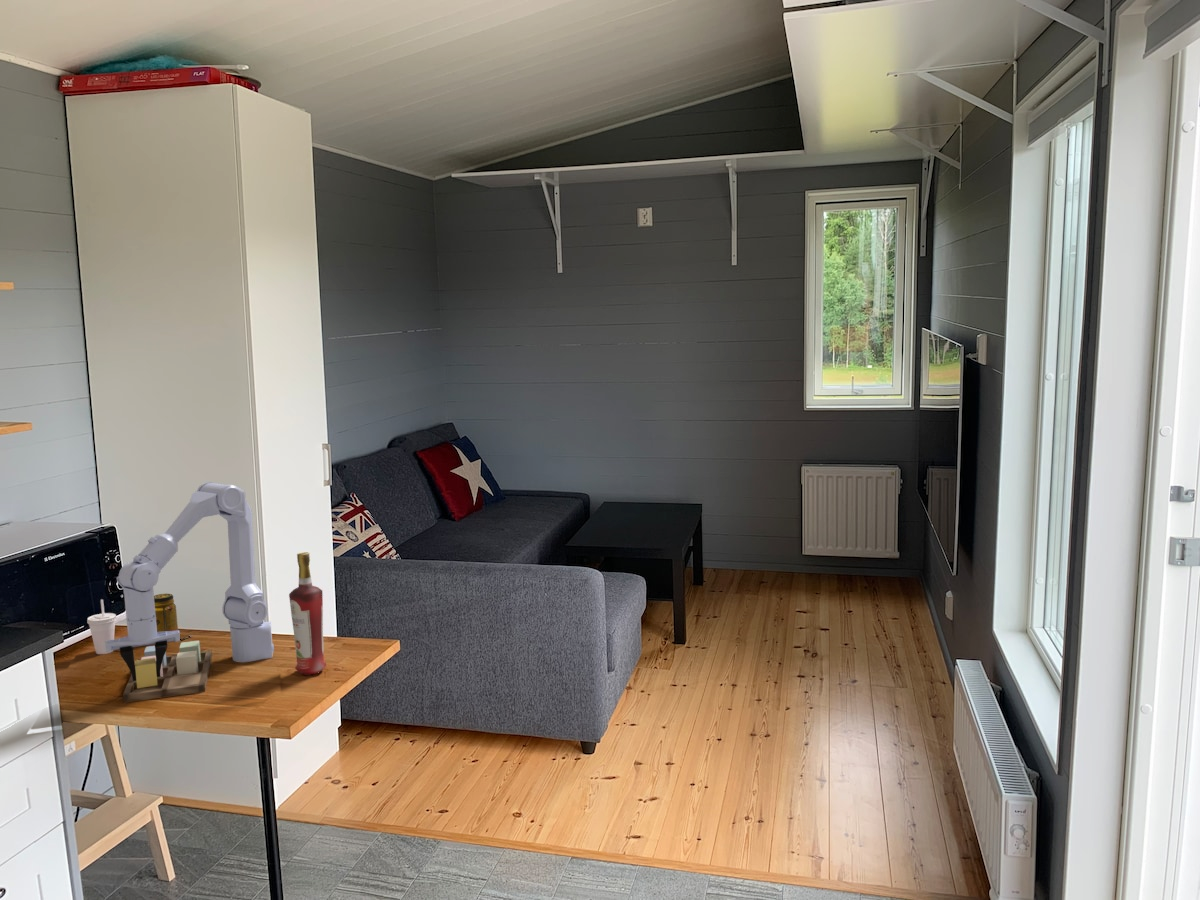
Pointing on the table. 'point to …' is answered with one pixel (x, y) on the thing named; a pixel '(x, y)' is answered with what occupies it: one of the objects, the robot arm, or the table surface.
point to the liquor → (307, 620)
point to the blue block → (154, 654)
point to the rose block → (155, 660)
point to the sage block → (191, 648)
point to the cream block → (187, 662)
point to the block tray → (172, 681)
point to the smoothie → (102, 629)
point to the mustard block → (146, 672)
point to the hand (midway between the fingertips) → (146, 677)
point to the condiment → (166, 613)
